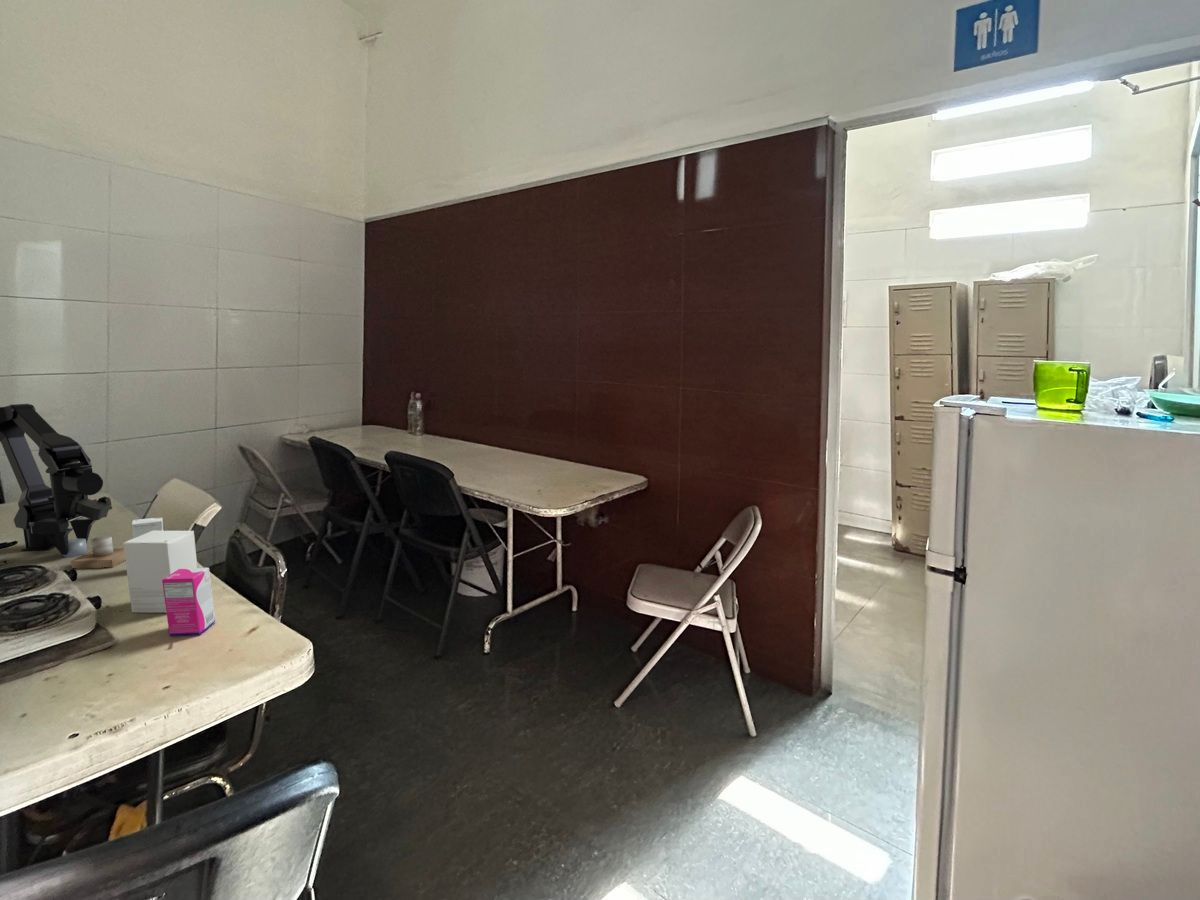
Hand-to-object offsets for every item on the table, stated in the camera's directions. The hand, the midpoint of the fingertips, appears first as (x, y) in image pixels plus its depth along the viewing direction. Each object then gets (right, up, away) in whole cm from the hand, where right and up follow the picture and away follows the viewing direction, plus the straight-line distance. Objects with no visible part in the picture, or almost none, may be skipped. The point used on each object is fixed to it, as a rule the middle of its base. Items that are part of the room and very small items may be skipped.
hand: (74, 550), depth 161 cm
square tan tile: (+12, -2, -5) cm, 13 cm away
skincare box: (+27, -3, -9) cm, 28 cm away
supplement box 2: (+57, -9, -41) cm, 71 cm away
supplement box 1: (+44, -7, -30) cm, 54 cm away
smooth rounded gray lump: (0, -1, 0) cm, 1 cm away
